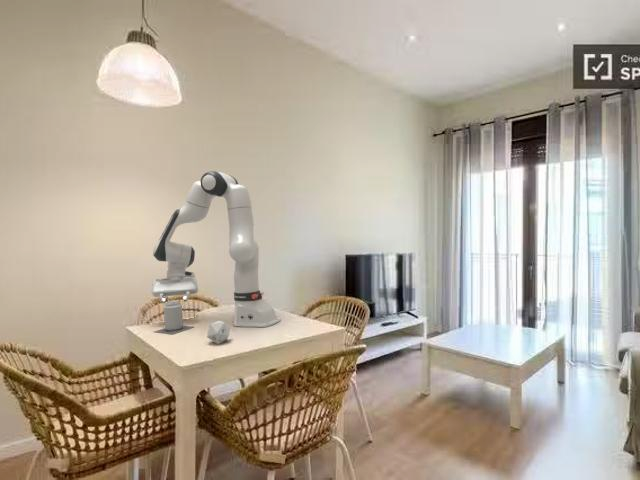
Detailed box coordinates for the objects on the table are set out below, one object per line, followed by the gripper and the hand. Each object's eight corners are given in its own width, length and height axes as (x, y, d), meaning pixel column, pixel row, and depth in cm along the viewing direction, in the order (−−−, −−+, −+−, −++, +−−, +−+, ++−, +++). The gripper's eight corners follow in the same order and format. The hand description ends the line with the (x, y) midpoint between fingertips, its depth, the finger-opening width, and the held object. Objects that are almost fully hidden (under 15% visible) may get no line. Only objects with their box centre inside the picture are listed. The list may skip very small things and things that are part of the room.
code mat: (194, 327, 162) (194, 326, 162) (172, 334, 151) (172, 334, 151) (175, 325, 168) (175, 324, 168) (153, 332, 157) (153, 331, 157)
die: (204, 348, 134) (215, 328, 131) (201, 331, 140) (212, 313, 138) (224, 350, 138) (236, 332, 136) (221, 335, 145) (232, 317, 142)
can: (176, 331, 155) (175, 304, 155) (161, 331, 157) (159, 304, 156) (186, 326, 162) (184, 300, 162) (171, 326, 164) (170, 300, 164)
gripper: (151, 275, 170) (148, 299, 161) (197, 272, 175) (196, 295, 166) (154, 283, 174) (151, 307, 165) (198, 280, 179) (198, 303, 170)
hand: (174, 301), depth 165 cm, fingers open, 8 cm apart
